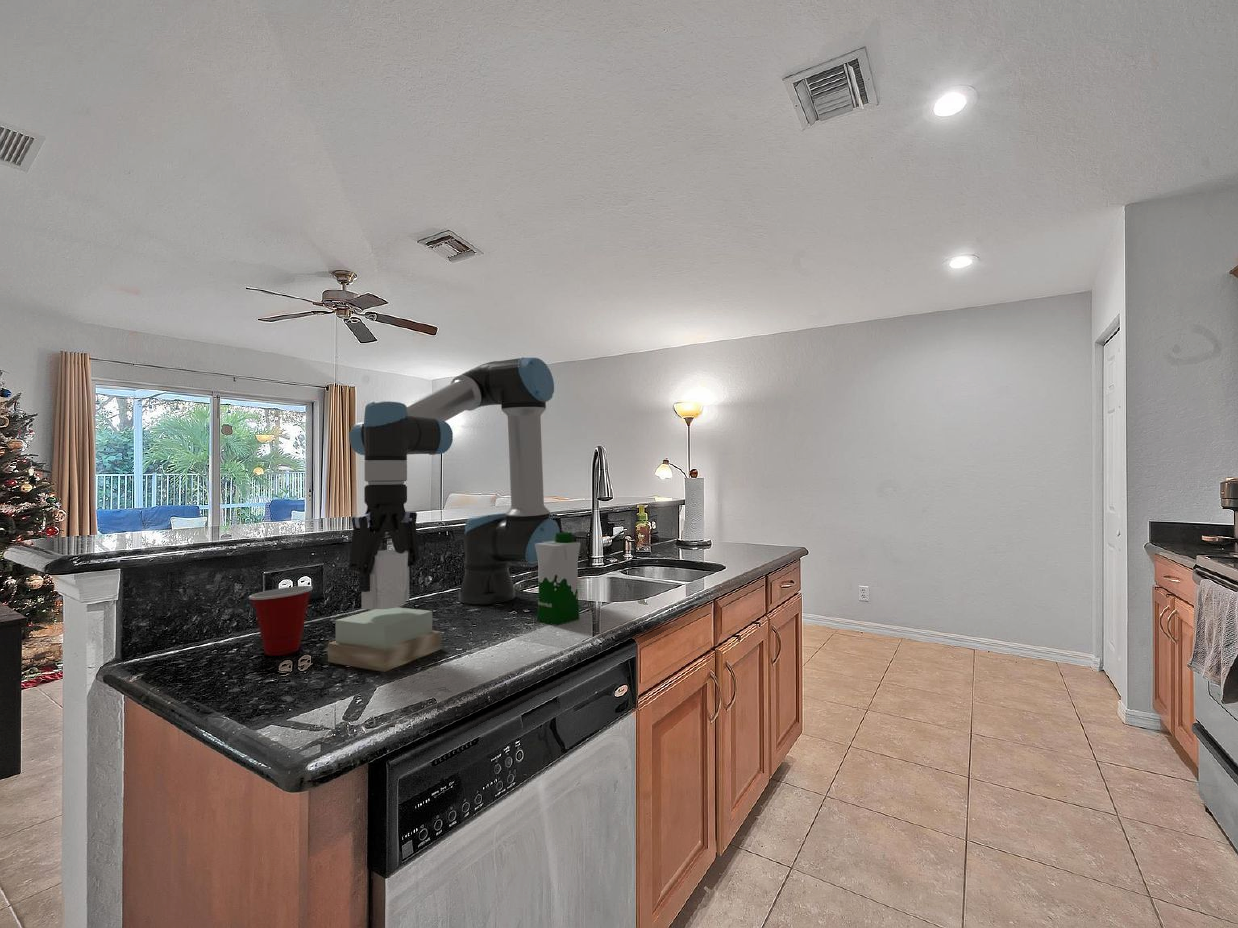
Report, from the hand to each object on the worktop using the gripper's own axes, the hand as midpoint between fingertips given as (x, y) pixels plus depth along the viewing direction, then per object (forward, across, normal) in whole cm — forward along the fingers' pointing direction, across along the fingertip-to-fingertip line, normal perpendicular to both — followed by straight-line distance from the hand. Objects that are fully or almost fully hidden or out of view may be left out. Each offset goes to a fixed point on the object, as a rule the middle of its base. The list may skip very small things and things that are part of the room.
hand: (386, 603), depth 107 cm
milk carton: (+10, -35, +17) cm, 40 cm away
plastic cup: (+10, +6, -21) cm, 24 cm away
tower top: (+6, 0, 0) cm, 6 cm away
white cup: (0, 0, 0) cm, 0 cm away
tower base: (+10, 0, 0) cm, 10 cm away
